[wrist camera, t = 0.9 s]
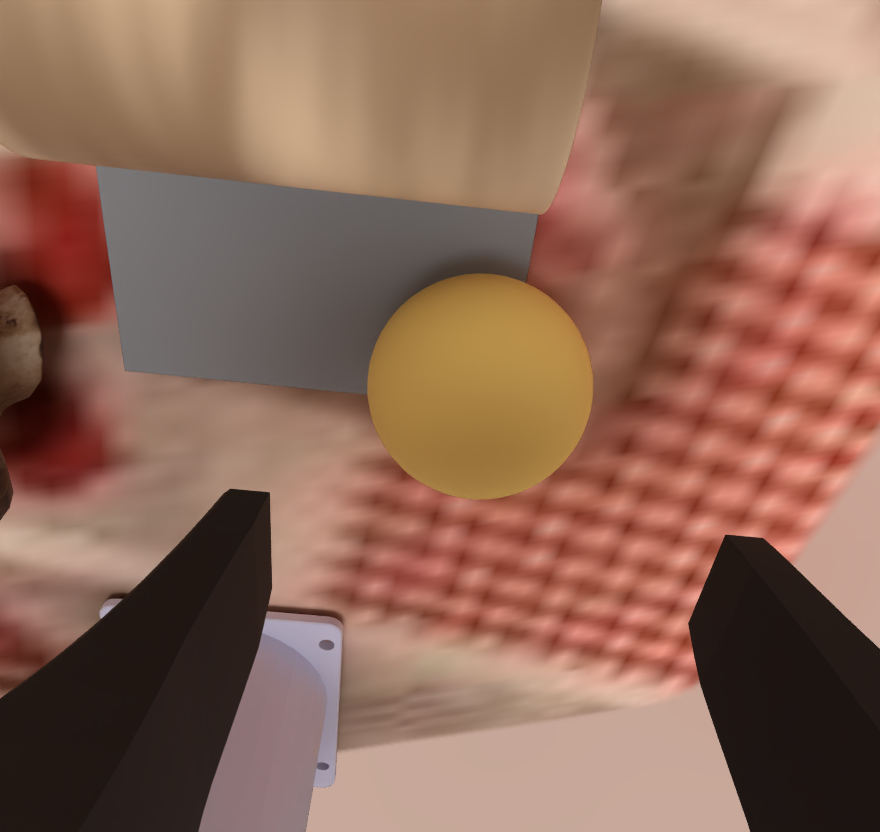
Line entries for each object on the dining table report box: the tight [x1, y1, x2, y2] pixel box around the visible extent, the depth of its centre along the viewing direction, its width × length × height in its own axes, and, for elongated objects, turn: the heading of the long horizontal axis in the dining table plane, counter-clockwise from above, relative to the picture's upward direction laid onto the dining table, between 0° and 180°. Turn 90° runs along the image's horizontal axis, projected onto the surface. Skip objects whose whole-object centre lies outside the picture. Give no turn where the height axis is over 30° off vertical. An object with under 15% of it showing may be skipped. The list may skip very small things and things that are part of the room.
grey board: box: [96, 166, 538, 395], centre depth 15 cm, size 16×10×1 cm, turn 174°
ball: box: [367, 273, 593, 499], centre depth 16 cm, size 5×5×5 cm
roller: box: [0, 0, 602, 215], centre depth 12 cm, size 6×9×6 cm, turn 84°
